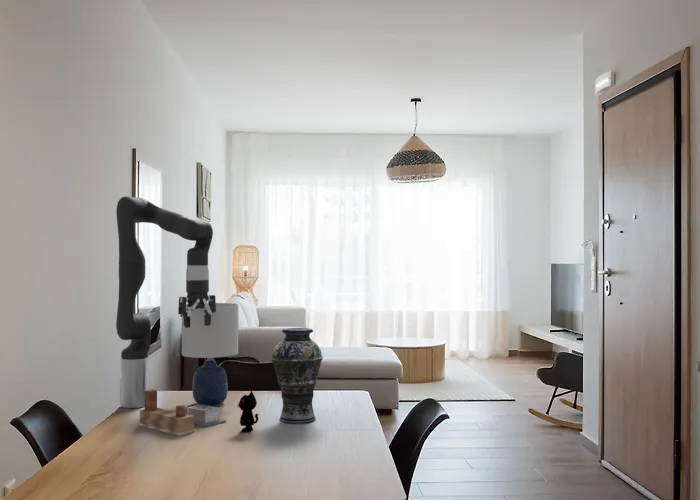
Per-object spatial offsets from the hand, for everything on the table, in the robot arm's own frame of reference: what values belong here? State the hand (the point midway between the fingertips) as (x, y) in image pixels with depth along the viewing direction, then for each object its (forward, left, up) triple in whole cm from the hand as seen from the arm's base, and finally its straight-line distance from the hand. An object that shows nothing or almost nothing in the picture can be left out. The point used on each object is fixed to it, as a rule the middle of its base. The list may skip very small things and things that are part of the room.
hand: (197, 326), depth 237 cm
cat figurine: (+29, -4, -30) cm, 42 cm away
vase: (+31, +16, -30) cm, 46 cm away
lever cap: (+9, -5, -30) cm, 31 cm away
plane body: (+7, -18, -30) cm, 36 cm away
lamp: (-11, +15, -30) cm, 36 cm away
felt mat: (+9, -5, -30) cm, 32 cm away
